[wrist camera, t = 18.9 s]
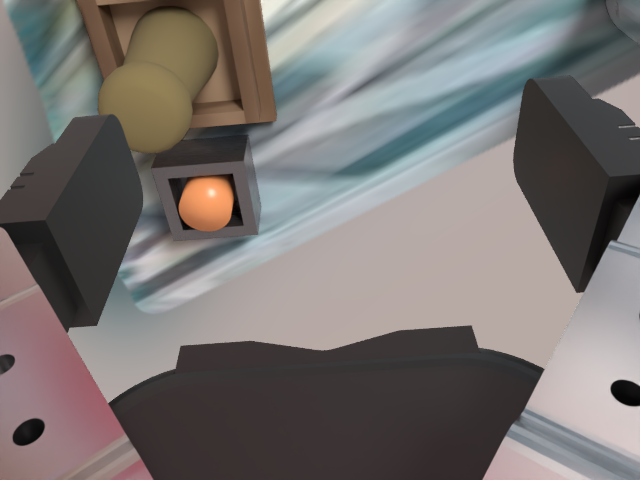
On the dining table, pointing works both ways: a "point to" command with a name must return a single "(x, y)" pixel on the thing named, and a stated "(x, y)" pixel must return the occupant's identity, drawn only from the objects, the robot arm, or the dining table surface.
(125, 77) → the khaki rounded elongated piece
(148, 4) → the crate
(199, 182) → the button
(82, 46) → the dining table surface
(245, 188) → the button housing
